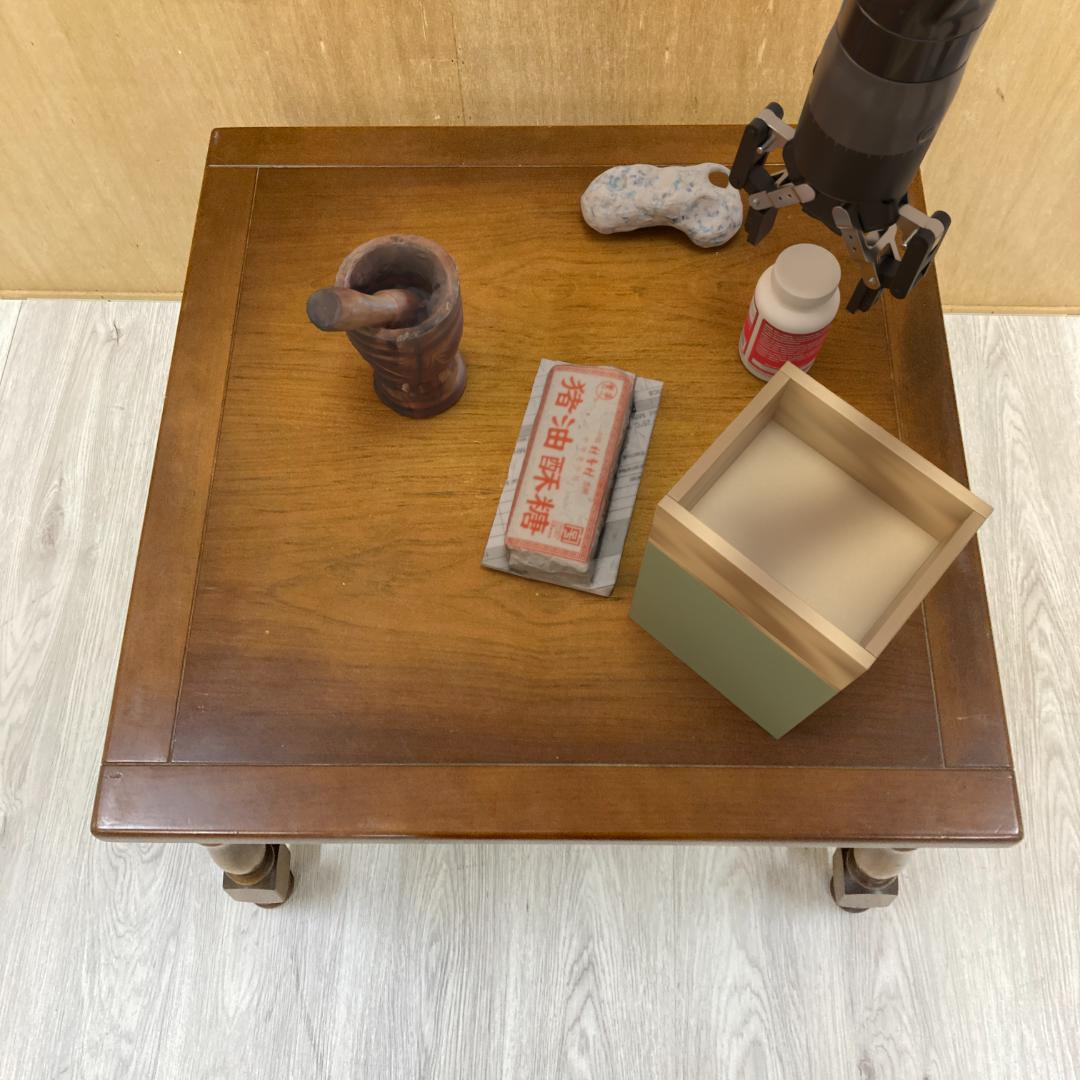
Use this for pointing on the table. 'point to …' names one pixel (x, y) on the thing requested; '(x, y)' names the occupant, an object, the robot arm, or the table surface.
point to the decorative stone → (664, 202)
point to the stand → (724, 646)
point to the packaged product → (574, 476)
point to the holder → (816, 525)
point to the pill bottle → (791, 311)
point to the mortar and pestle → (400, 320)
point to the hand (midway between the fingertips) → (806, 269)
